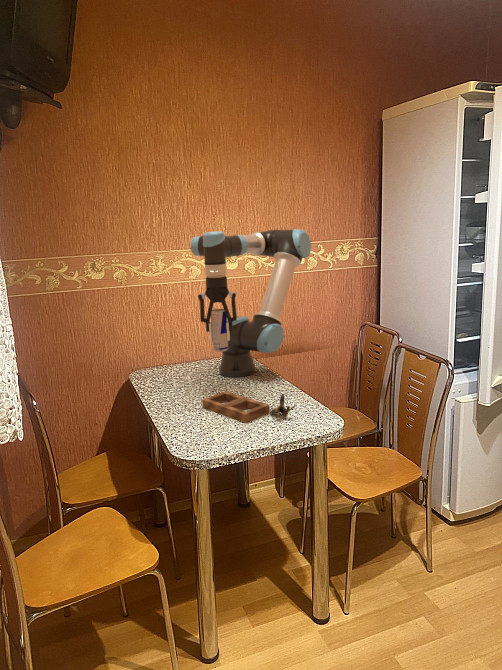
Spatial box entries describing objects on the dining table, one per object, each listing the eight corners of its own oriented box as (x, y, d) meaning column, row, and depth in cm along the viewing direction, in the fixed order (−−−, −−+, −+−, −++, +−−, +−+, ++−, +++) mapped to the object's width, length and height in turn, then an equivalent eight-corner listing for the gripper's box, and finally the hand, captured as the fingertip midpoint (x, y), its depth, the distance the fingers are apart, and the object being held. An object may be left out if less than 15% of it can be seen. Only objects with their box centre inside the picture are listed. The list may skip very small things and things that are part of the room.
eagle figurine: (300, 412, 181) (288, 400, 188) (291, 398, 177) (278, 386, 185) (282, 427, 180) (270, 414, 188) (272, 414, 176) (260, 400, 184)
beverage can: (226, 352, 198) (223, 311, 195) (211, 352, 200) (208, 311, 196) (230, 348, 204) (227, 308, 200) (215, 348, 205) (212, 308, 202)
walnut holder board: (202, 407, 193) (202, 399, 193) (226, 399, 201) (226, 391, 200) (245, 423, 177) (245, 414, 177) (269, 413, 185) (269, 404, 184)
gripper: (188, 278, 192) (193, 343, 198) (241, 276, 192) (245, 341, 197) (191, 276, 200) (196, 338, 205) (242, 273, 199) (246, 336, 204)
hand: (220, 340), depth 201 cm, fingers closed on beverage can, 5 cm apart
